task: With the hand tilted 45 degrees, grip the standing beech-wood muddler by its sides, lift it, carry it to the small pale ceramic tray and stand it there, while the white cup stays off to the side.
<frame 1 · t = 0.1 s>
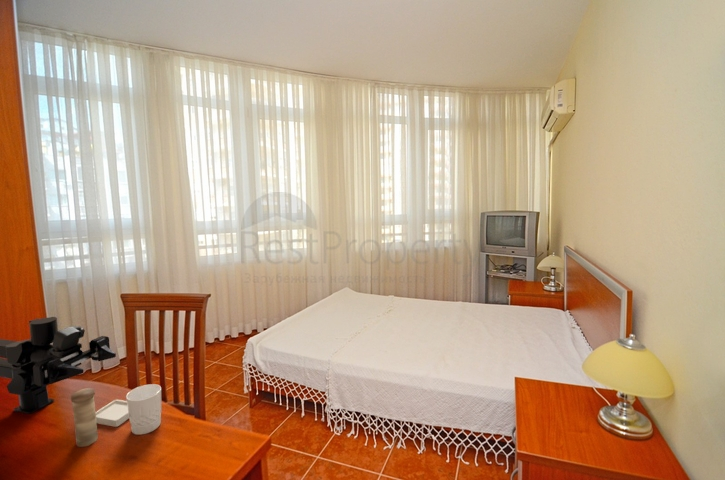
hand: (99, 362, 93), 17 cm above the table, tool horizontal, fingers open, 9 cm apart
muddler: (87, 440, 87), on the table
tray: (116, 415, 97), on the table
white cup: (146, 427, 93), on the table
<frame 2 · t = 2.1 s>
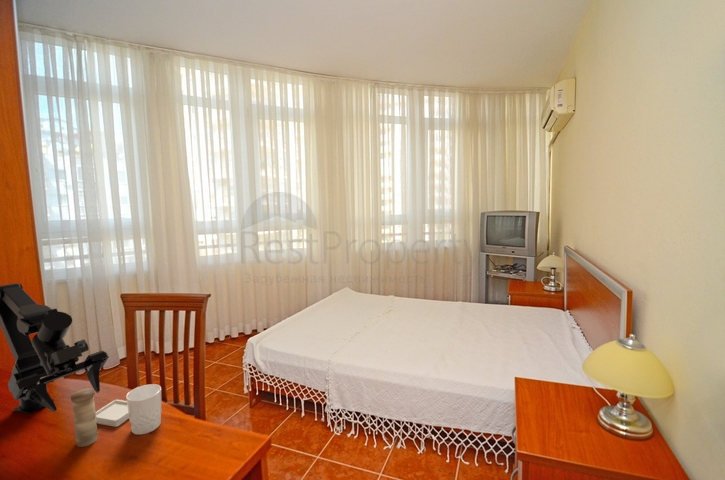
hand: (78, 401, 87), 10 cm above the table, tool tilted 45°, fingers open, 9 cm apart
nothing on the table moved.
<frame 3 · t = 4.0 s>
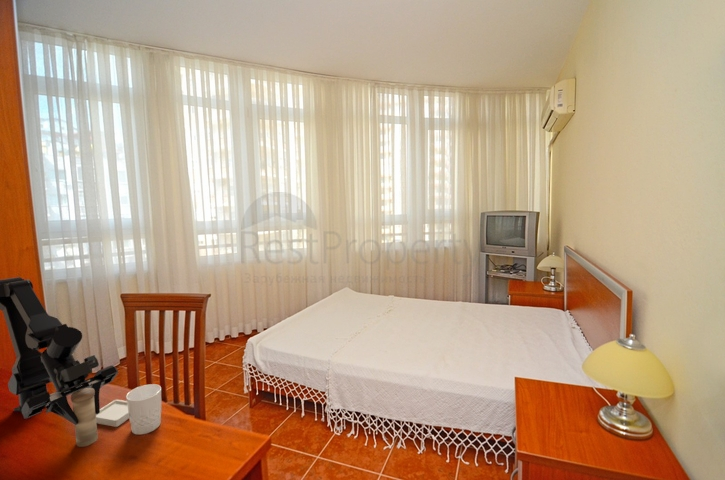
hand: (88, 418, 86), 7 cm above the table, tool tilted 45°, fingers closed on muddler, 4 cm apart
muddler: (87, 440, 87), on the table, touching gripper
everything else where it was.
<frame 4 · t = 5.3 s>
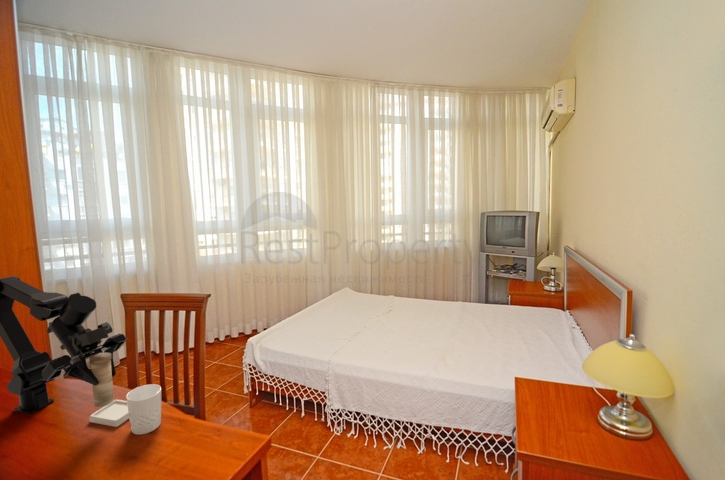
hand: (106, 380, 91), 13 cm above the table, tool tilted 45°, fingers closed on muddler, 4 cm apart
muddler: (104, 402, 92), point 7 cm above the table, touching gripper
everything else where it was.
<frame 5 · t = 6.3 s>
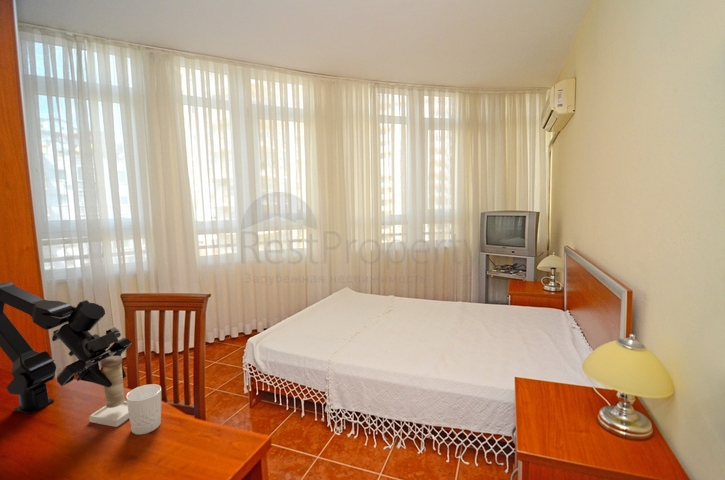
hand: (117, 381, 96), 10 cm above the table, tool tilted 45°, fingers closed on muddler, 4 cm apart
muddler: (115, 403, 97), point 4 cm above the table, touching gripper
everything else where it was.
when the fingers open (9 cm above the table, at t = 6.9 s): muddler drops 1 cm, resting on tray.
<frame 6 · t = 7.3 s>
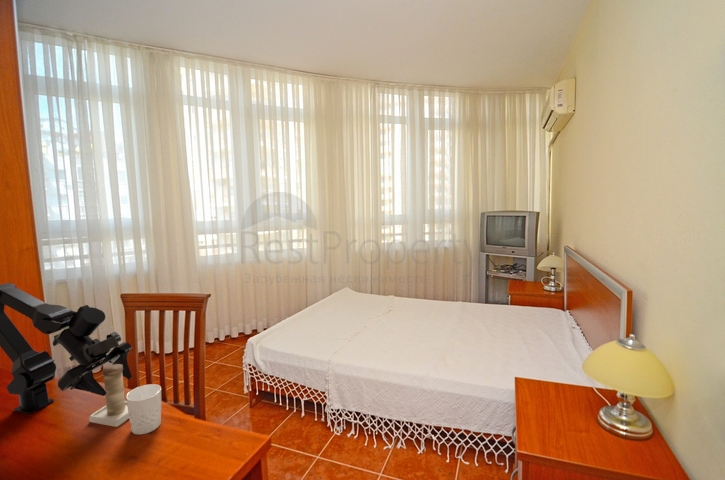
hand: (118, 386, 96), 9 cm above the table, tool tilted 45°, fingers open, 8 cm apart
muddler: (116, 411, 97), point 1 cm above the table, touching tray
everything else where it was.
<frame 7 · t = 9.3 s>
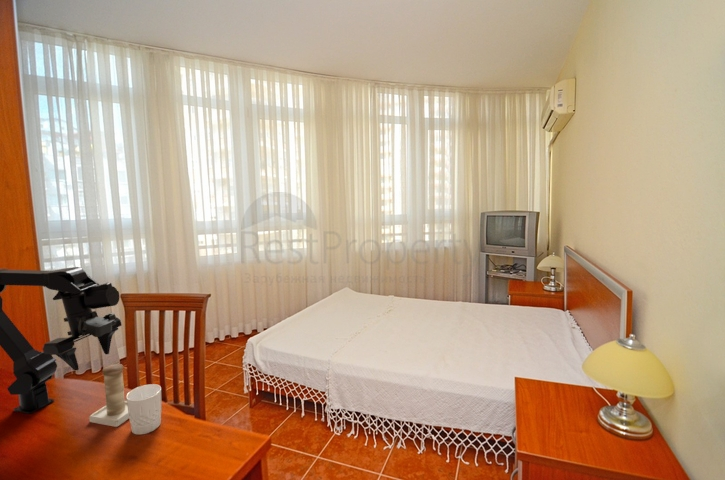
hand: (92, 361, 101), 13 cm above the table, tool pointing down, fingers open, 9 cm apart
nothing on the table moved.
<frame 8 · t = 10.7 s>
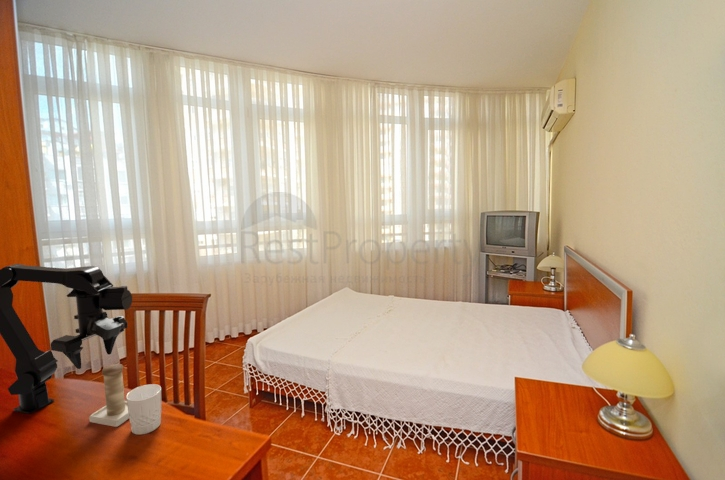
hand: (94, 361, 102), 13 cm above the table, tool pointing down, fingers open, 9 cm apart
nothing on the table moved.
at the end: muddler inside the target area on the tray (0.0 cm from its centre), point 1.2 cm above the tray's base; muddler tilted 0°; the gripper is holding nothing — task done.
